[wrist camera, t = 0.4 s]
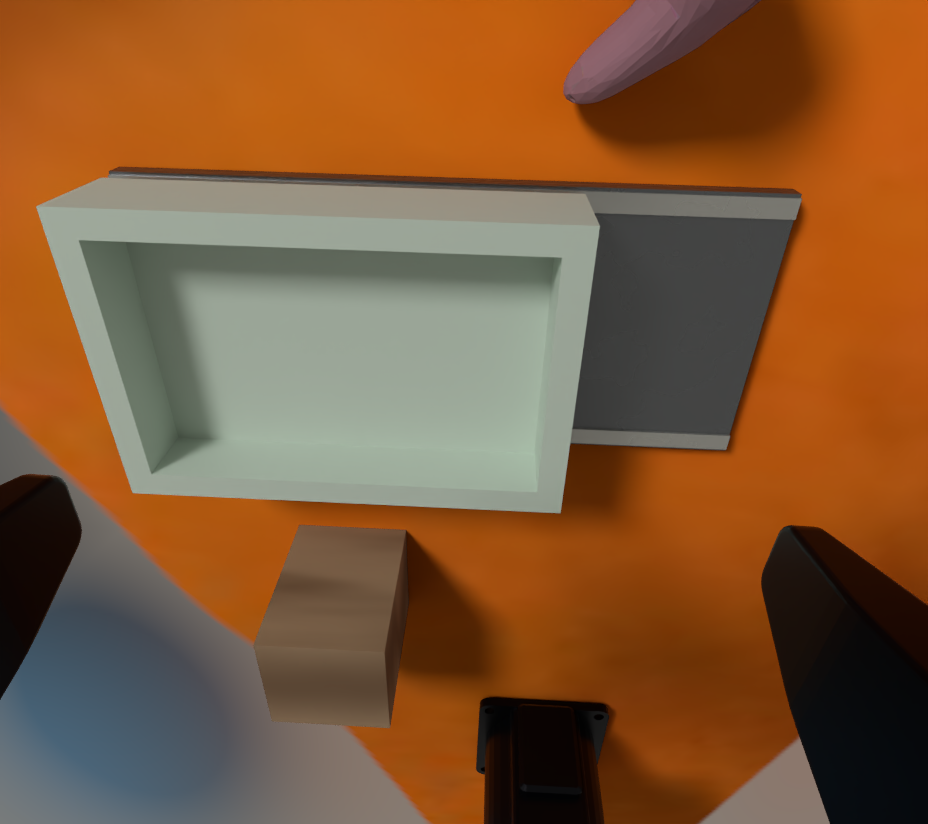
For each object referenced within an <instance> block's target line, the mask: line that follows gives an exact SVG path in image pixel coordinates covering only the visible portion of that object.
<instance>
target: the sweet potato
mask: <svg viewBox="0 0 928 824" xmlns="http://www.w3.org/2000/svg"><path fill="white" fill-rule="evenodd" d="M759 1H761V0H636V1H635V2H634V3H633V5H632V6H631V7H630V8H629V9H628V10H627V11H626V12H625V13H624V14H623V15H621V16H620V17H619V18H618V19H617V20H616V21H615V22H614V23H613V24H612V25H611V26H610V27H609V28H608V29H607V30H606V31H605V32H604V33H603V34H601V35H600V36H599V37H598V38H597V39H596V40H595V41H594V42H593V43H592V44H591V46H590V47H589V48H588V49H587V50H586V51H585V52H584V53H583V54H582V55H581V57H580V58H579V59H578V61H577V62H576V63H575V64H574V66H573V67H572V68H571V70H570V72H569V73H568V76H567V78H566V80H565V83H564V92H563V93H564V95H565V97H566V99H567V100H569V101H571V102H573V103H577V104H589V103H596V102H598V101H601V100H603V99H606V98H609V97H611V96H613V95H615V94H617V93H619V92H620V91H622V90H624V89H626V88H628V87H629V86H631V85H633V84H635V83H637V82H638V81H640V80H642V79H644V78H646V77H647V76H649V75H651V74H653V73H654V72H656V71H658V70H660V69H662V68H663V67H665V66H667V65H669V64H671V63H673V62H674V61H676V60H678V59H680V58H681V57H683V56H685V55H686V54H688V53H690V52H691V51H693V50H695V49H696V48H698V47H699V46H701V45H702V44H703V43H705V42H706V41H707V40H708V39H710V38H711V37H712V36H713V35H715V34H716V33H717V32H718V31H720V30H721V29H723V28H724V27H725V26H727V25H728V24H730V23H731V22H733V21H734V20H735V19H737V18H738V17H740V16H741V15H742V14H744V13H745V12H747V11H748V10H749V9H751V8H752V7H753V6H754V5H756V4H757V3H758V2H759Z"/></svg>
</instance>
